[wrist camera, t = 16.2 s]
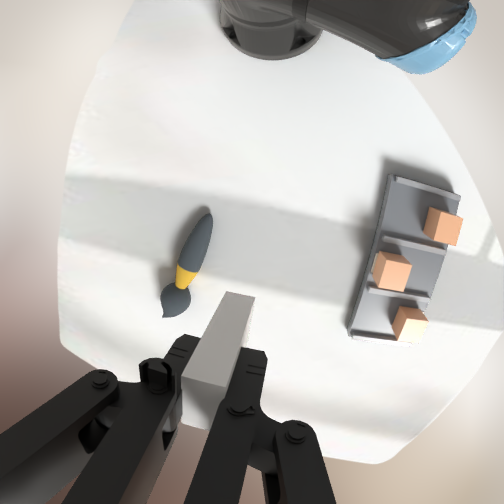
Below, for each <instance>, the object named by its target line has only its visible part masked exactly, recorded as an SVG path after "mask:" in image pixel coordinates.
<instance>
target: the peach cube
mask: <svg viewBox="0 0 504 504" xmlns="http://www.w3.org/2000/svg"><path fill="white" fill-rule="evenodd" d="M411 268H412V264H411V263H410V262H409V261H408V260H407V259H406V258H405V257H404V256H402V255H397V254H393V253H388V252H383V251H379V254H378V257H377V261H376V264H375V268H374V271H373V275H372V277H373V279H374V281H375V282H376V284H377V286H378V287H379V288H385V289H390V290H396V291H401V292H404V289H405V286H406V283H407V280H408V277H409V274H410V271H411Z"/></svg>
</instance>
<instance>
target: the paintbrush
mask: <svg viewBox="0 0 504 504" xmlns="http://www.w3.org/2000/svg"><path fill="white" fill-rule="evenodd" d="M212 227H213V218H212V215H211V214H207V215H205V216H204V217H203V218H202V219H201V220H200V221H199V222H198V224H197V225H196V226H195V228H194V229H193V231H192V233H191V234H190V236H189V238H188V240H187V242H186V243H185V246H184V248H183V250H182V252H181V254H180V257H179V260H178V263H177V270H176V281H175V283H172V284H170V285H168V286H166V287H165V288H164V289H163V291H162V293H161V304H162V308H163V312H164V313H163V316H162V318H164V317H174V316H177V315H179V314H181V313H183V312H184V311H185V310H186V309H187V308H188V307H189V305H190V301H191V295H190V292H189V290H188V289H187V288H186V287H187V286H188V285H189V284H190V282H191V281H192V280H193V279H194V277H195V276H196V274H197V273H198V271H199V270H200V267H201V265H202V263H203V260H204V258H205V255H206V252H207V248H208V245H209V241H210V237H211V233H212Z"/></svg>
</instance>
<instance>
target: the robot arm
mask: <svg viewBox="0 0 504 504" xmlns="http://www.w3.org/2000/svg"><path fill="white" fill-rule="evenodd" d="M219 1H220V3H221V4H222V5H221V12H220V23H221V27H222V30H223V32H224V34H225V35H226V37H227V38H228V40H229V41H230V43H231V44H232V45H233V46H234V47H235V48H237V49H238V50H239V51H241V52H242V53H244V54H246V55H249V56H251V57H254V58H258V59H263V60H282V59H288V58H292V57H295V56H297V55H300V54H302V53H304V52H305V51H307V50H308V49H310V48H311V47H312V46H313V45H314V44H315V43H316V42H317V41H318V39H319V38H320V36H321V34H322V31H323V30H325V31H328V32H330V33H332V34H334V35H337V36H339V37H341V38H343V39H345V40H348V41H350V42H352V43H354V44H356V45H358V46H360V47H362V48H364V49H366V50H368V51H369V52H371V53H373V54H375V56H376V57H377V58H378V59H380V60H382V61H386V62H389V63H391V64H393V65H395V66H397V67H398V68H400V69H402V70H404V71H406V72H408V73H411V74H426V73H429V72H432V71H434V70H436V69H438V68H439V67H441V66H442V65H444V64H445V63H446V62H448V61H449V60H450V59H451V58H452V57H453V56H454V55H455V54H456V53H457V52H458V51H459V50H460V49H461V48H462V47H463V45H464V44H465V42H466V41H465V38H467V37H468V36H469V35H471V33H472V31H473V29H474V27H475V24H476V19H477V16H476V11H475V9H474V8H473V6H472V5H471V3H470V2H469V0H219ZM254 302H255V297H251V296H246V295H241V294H237V293H232V292H227V291H226V293H225V295H224V297H223V298H222V300H221V302H220V304H219V306H218V308H217V310H216V311H215V313H214V315H213V317H212V319H211V321H210V323H209V325H208V326H207V328H206V330H205V332H204V334H203V336H202V338H198V337H195V336H191V335H187V334H184V335H182V336H181V337H179V338H177V339H176V340H175V342H174V343H173V345H172V347H171V348H170V350H169V351H168V353H167V354H166V356H165V357H164V359H161V358H149V359H146V360H144V361H142V362H141V363H140V364H139V371H140V380H141V382H137V383H131V382H121V381H118V380H117V377H116V376H115V375H114V374H113V373H112V372H110V371H108V370H102V369H99V370H93V371H91V372H89V373H88V374H86V375H85V376H83V377H82V378H80V379H79V380H77V381H76V382H75V383H73V384H72V385H70V386H69V387H68V388H66V389H65V390H63V391H62V392H60V393H59V394H57V395H56V396H55V397H53V398H52V399H51V400H49V401H48V402H46V403H45V404H43V405H42V406H40V407H39V408H38V409H36V410H35V411H33V412H32V413H30V414H29V415H27V416H26V417H25V418H23V419H22V420H20V421H19V422H17V423H16V424H14V425H13V426H12V427H10V428H9V429H8V430H6V431H4V432H3V433H2V434H0V504H45V503H46V502H47V501H49V500H50V499H51V498H52V497H53V496H54V495H56V494H57V493H58V492H59V491H60V490H61V489H63V488H64V487H65V486H66V485H67V484H68V483H69V482H71V481H72V480H73V479H74V478H75V477H76V476H77V475H79V474H80V473H81V474H80V475H79V477H78V478H77V480H76V482H75V483H74V485H73V486H72V488H71V489H70V491H69V493H68V494H67V496H66V497H65V499H64V501H63V502H62V504H146V503H147V500H148V498H149V496H150V494H151V492H152V489H153V487H154V485H155V482H156V480H157V478H158V476H159V474H160V471H161V469H162V467H163V465H164V462H165V460H166V458H167V456H168V453H169V451H170V449H171V447H172V444H173V442H174V440H175V438H176V435H177V432H178V423H179V421H180V418H181V416H182V423H183V424H187V425H190V426H193V427H197V428H201V429H205V430H208V431H210V432H209V435H208V438H207V440H206V443H205V446H204V449H203V452H202V455H201V457H200V460H199V463H198V465H197V468H196V471H195V474H194V477H193V480H192V482H191V485H190V488H189V490H188V493H187V496H186V498H185V501H184V504H238V503H239V499H240V495H241V490H242V486H243V482H244V477H245V473H246V468H247V465H250V466H251V467H253V468H255V469H258V470H260V471H261V472H262V480H263V487H264V495H265V502H266V504H336V501H335V497H334V494H333V491H332V487H331V484H330V480H329V477H328V474H327V470H326V467H325V463H324V461H323V457H322V453H321V450H320V447H319V443H318V440H317V437H316V433H315V432H314V430H313V428H312V427H311V426H309V425H308V424H307V423H304V422H302V421H297V420H290V421H285V422H283V423H279V422H277V421H275V420H273V419H271V418H269V417H268V416H267V415H265V414H264V412H263V411H262V410H261V407H260V398H261V393H262V387H263V382H264V377H265V371H266V366H267V360H268V359H267V357H266V355H265V352H264V351H260V350H255V349H250V348H246V345H247V341H248V336H249V331H250V325H251V319H252V313H253V307H254Z"/></svg>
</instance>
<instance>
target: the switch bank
mask: <svg viewBox="0 0 504 504" xmlns="http://www.w3.org/2000/svg"><path fill="white" fill-rule="evenodd" d="M460 198H461V196H460V195H457V194H455V193H452V192H449V191H446V190H443V189H440V188H436V187H433V186H430V185H427V184H424V183H420V182H417V181H414V180H410V179H407V178H403V177H400V176H396V175H392V174H388V180H387V185H386V190H385V195H384V199H383V204H382V209H381V213H380V217H379V222H378V226H377V230H376V234H375V238H374V242H373V246H372V250H371V253H370V257H369V261H368V264H367V268H366V271H365V275H364V278H363V282H362V285H361V288H360V291H359V295H358V298H357V301H356V304H355V307H354V310H353V313H352V316H351V319H350V322H349V325H348V328H347V332H348V336H351V337H352V340H359V341H367V342H374V343H382V344H391V345H400V346H409V347H410V346H411V344H412V342H403V341H397V338H396V336H395V334H394V332H393V330H392V328H391V327H392V324H393V322H394V319H395V317H396V314H397V312H398V309H399V306H404V307H410V308H417V309H421V311H422V312H423V314H424V313H425V310H426V308H427V305H428V303H429V302H430V299H431V295H432V292H433V290H434V287H435V284H436V281H437V278H438V275H439V272H440V269H441V266H442V263H443V260H444V257H445V256H446V253H447V247H448V244H446V243H442V242H438V241H434V240H432V239H431V238H430V237H428V236H427V235H425V234H424V233H423V231H424V227H425V223H426V219H427V215H428V210H429V207H433V208H436V209H439V210H443V211H446V212H449V213H452V214H454V215H456V213H457V209H458V204H459V201H460ZM379 251H383V252H388V253H393V254H397V255H402V256H404V257H405V258H406V259H407V260H408V261H409V262H410V263H411V264H412V268H411V271H410V274H409V277H408V280H407V283H406V286H405V289H404V292H401V291H396V290H390V289H385V288H379V287H378V286H377V284H376V282H375V281H374V279H373V277H372V275H373V271H374V268H375V264H376V261H377V257H378V254H379Z"/></svg>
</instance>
